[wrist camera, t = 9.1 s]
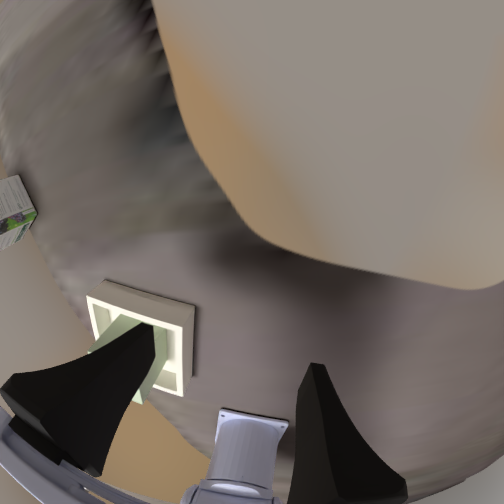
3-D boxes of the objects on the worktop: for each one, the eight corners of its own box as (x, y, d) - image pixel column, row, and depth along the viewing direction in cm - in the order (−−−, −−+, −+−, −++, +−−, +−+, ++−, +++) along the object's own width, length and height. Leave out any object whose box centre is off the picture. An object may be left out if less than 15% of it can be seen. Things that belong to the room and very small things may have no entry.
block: (167, 359, 24) (142, 404, 19) (127, 345, 25) (98, 385, 19) (166, 325, 22) (135, 371, 17) (122, 310, 23) (87, 350, 17)
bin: (192, 376, 26) (183, 397, 23) (116, 349, 26) (103, 366, 24) (194, 305, 22) (182, 327, 19) (104, 279, 23) (86, 295, 20)
